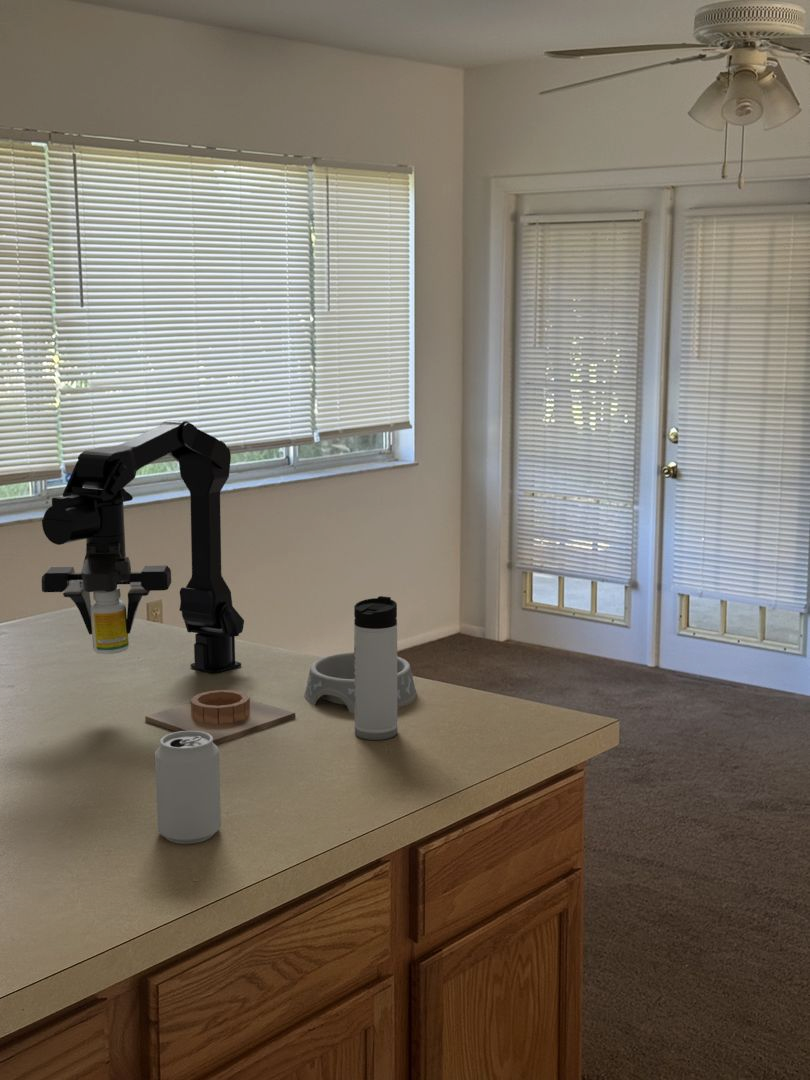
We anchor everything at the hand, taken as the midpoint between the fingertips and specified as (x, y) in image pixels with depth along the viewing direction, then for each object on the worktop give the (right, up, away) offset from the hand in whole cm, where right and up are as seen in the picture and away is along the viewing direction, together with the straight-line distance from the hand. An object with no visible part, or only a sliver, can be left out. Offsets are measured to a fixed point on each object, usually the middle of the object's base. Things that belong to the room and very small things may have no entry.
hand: (109, 633), depth 193 cm
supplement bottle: (0, -3, +1) cm, 3 cm away
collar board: (+17, -13, -2) cm, 22 cm away
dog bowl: (+38, -11, +10) cm, 41 cm away
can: (+20, -21, -43) cm, 52 cm away
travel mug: (+41, -14, -8) cm, 44 cm away
